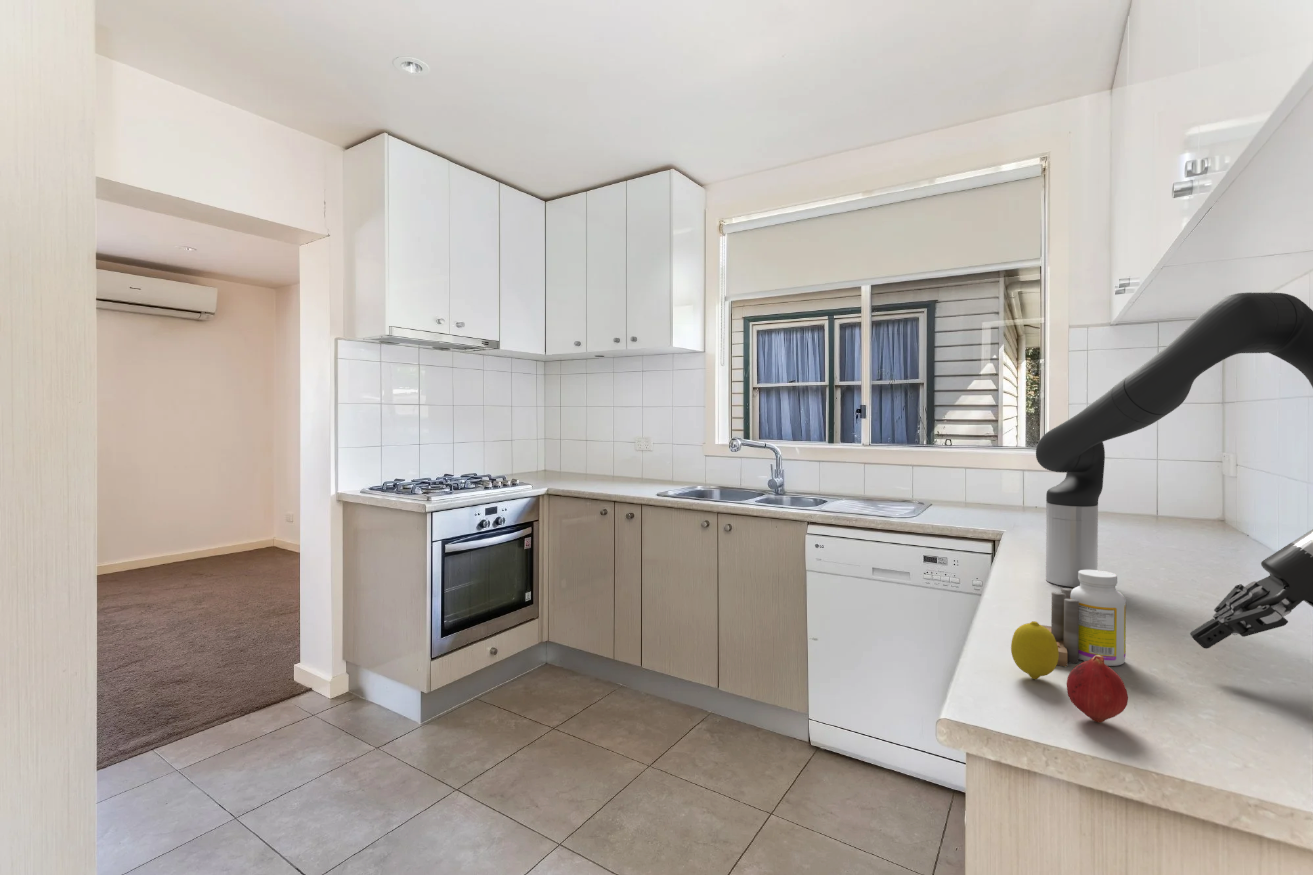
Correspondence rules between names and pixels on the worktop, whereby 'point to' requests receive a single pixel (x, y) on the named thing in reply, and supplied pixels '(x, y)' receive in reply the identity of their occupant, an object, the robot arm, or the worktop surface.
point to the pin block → (1065, 626)
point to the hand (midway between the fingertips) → (1197, 641)
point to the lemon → (1034, 650)
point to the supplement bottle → (1100, 617)
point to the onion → (1097, 690)
